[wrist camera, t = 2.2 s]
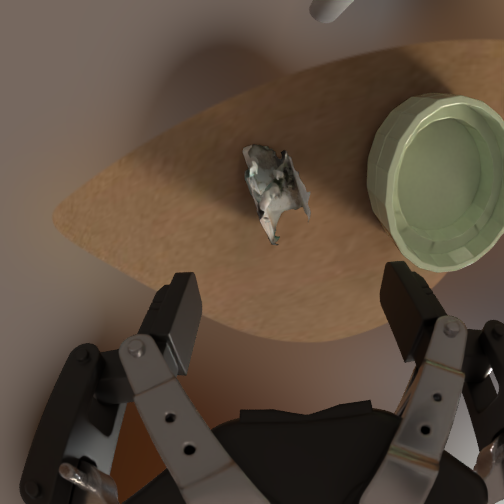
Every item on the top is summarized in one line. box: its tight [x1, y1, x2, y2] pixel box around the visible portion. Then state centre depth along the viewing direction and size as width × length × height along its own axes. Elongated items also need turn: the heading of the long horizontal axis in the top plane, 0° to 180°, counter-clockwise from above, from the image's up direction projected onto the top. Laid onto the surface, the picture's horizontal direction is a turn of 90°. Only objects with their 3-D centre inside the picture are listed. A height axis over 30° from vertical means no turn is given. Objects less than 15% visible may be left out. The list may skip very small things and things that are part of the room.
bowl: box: [367, 93, 504, 272], centre depth 19 cm, size 15×15×5 cm
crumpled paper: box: [243, 144, 311, 245], centre depth 20 cm, size 4×8×7 cm, turn 21°
